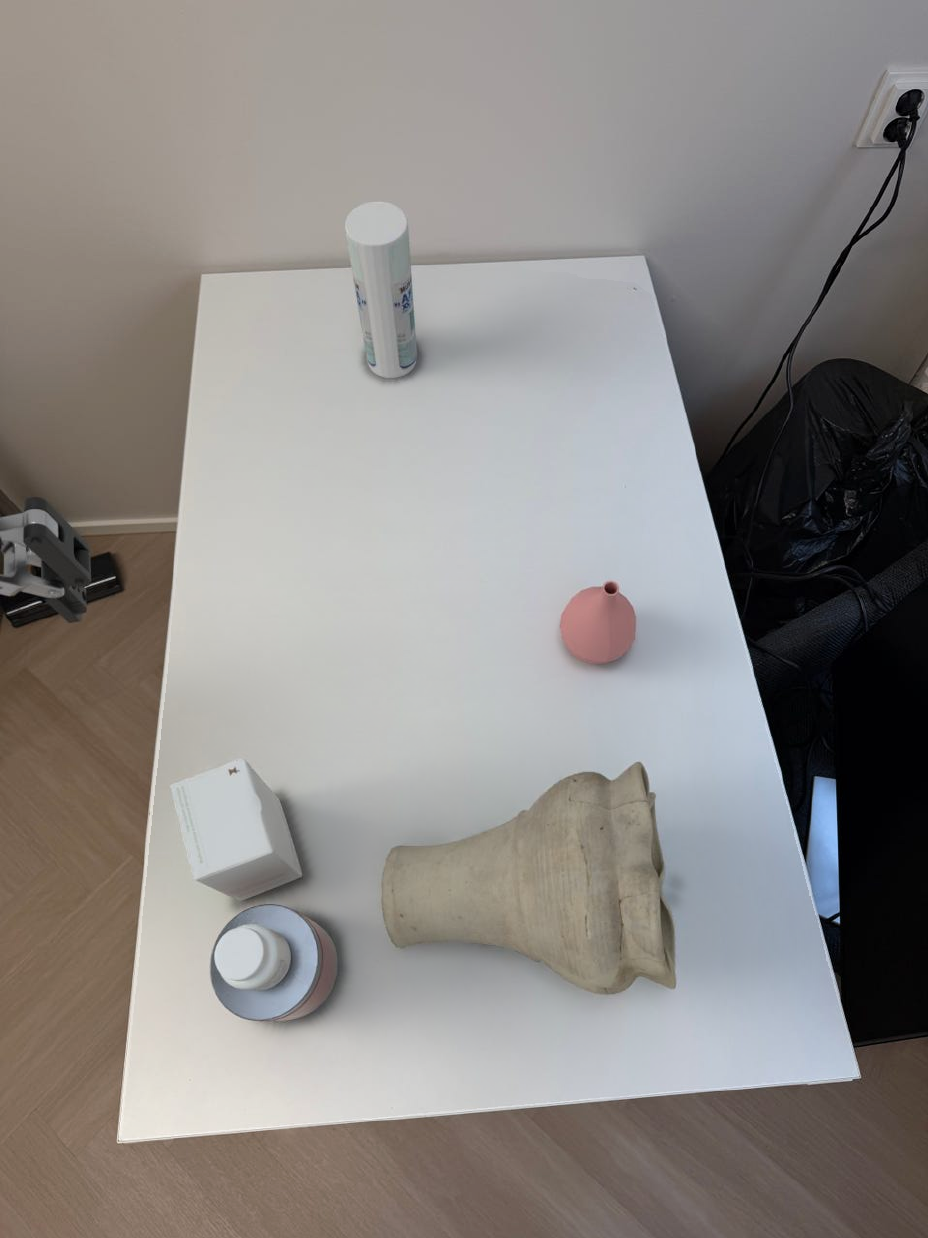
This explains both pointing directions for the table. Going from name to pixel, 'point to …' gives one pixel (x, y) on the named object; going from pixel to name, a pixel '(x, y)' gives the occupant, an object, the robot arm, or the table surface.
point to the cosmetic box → (235, 831)
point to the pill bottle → (252, 957)
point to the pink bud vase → (598, 624)
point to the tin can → (305, 975)
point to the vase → (549, 886)
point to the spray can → (383, 286)
